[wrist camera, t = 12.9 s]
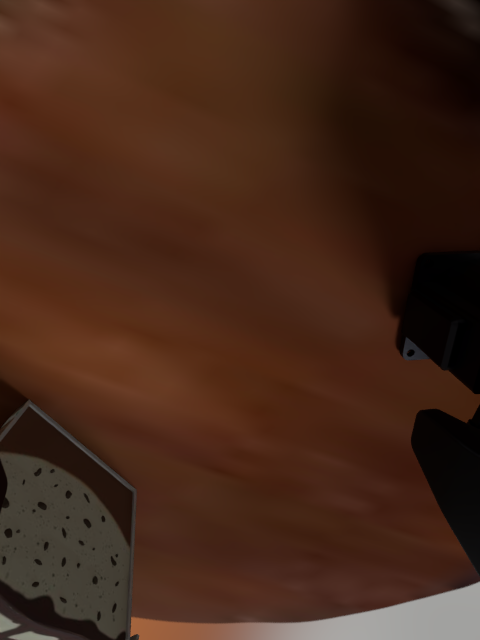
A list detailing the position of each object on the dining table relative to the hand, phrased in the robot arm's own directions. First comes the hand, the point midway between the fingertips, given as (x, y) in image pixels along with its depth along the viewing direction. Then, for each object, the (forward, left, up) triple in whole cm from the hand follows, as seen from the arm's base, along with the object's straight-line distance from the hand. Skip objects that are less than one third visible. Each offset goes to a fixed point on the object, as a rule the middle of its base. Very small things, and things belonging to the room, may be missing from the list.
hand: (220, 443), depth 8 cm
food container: (+10, +13, -13) cm, 21 cm away
